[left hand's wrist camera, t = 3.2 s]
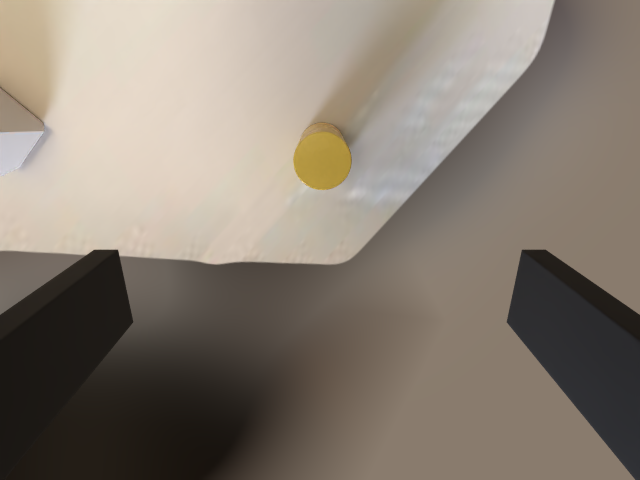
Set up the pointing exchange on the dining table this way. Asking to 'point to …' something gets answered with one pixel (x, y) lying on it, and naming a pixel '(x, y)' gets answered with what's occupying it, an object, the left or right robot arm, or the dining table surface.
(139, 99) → the dining table surface
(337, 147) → the canister
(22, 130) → the electronic device
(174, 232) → the dining table surface
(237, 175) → the dining table surface
